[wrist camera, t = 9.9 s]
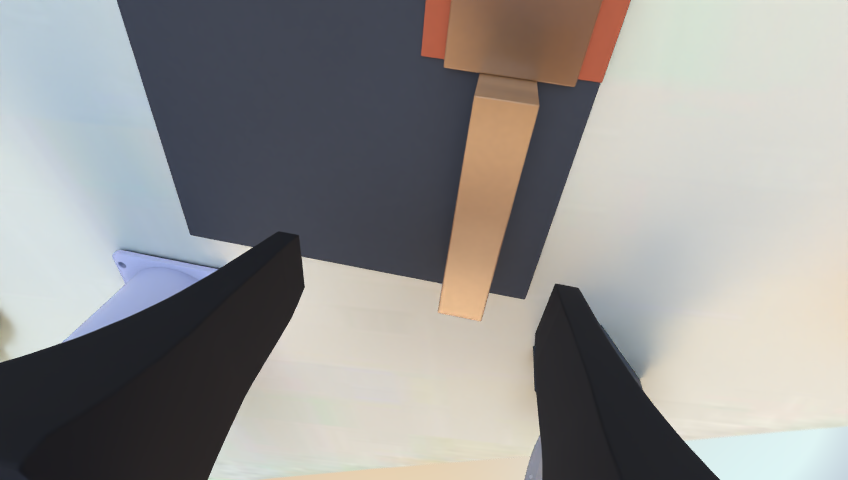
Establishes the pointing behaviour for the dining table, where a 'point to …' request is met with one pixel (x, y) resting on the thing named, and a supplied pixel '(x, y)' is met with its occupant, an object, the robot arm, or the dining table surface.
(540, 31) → the spatula
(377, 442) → the dining table surface
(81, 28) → the dining table surface
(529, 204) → the corner mat
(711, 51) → the dining table surface
